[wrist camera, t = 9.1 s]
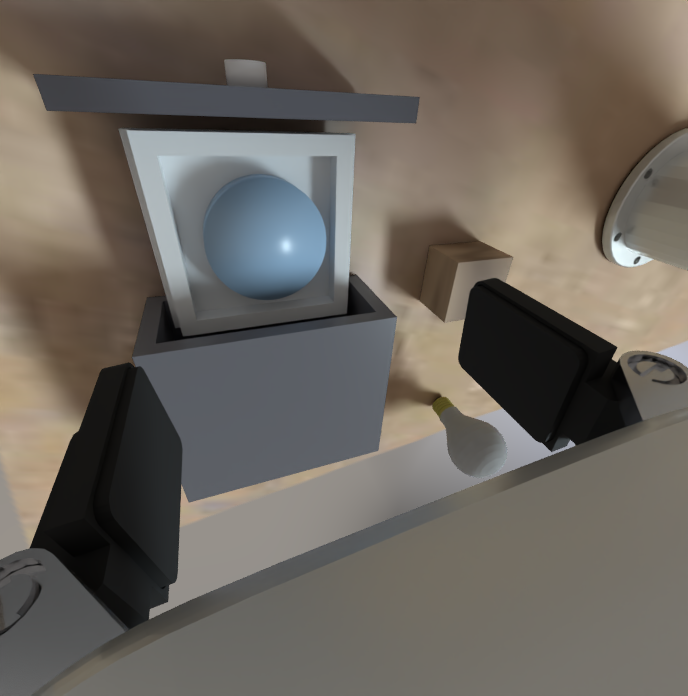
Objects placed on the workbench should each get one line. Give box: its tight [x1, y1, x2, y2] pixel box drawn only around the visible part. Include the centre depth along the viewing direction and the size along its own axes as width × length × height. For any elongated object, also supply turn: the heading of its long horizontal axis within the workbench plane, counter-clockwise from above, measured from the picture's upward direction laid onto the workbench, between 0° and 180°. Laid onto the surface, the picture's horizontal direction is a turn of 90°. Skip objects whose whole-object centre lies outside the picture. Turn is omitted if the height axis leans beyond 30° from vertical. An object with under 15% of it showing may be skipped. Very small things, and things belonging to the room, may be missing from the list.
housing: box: [132, 275, 397, 502], centre depth 26 cm, size 15×13×7 cm
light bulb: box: [432, 397, 507, 478], centre depth 36 cm, size 6×6×10 cm
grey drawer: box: [33, 59, 419, 337], centre depth 19 cm, size 15×14×6 cm
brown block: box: [420, 241, 513, 323], centre depth 29 cm, size 5×5×4 cm
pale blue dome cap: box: [203, 174, 326, 300], centre depth 20 cm, size 7×7×2 cm
